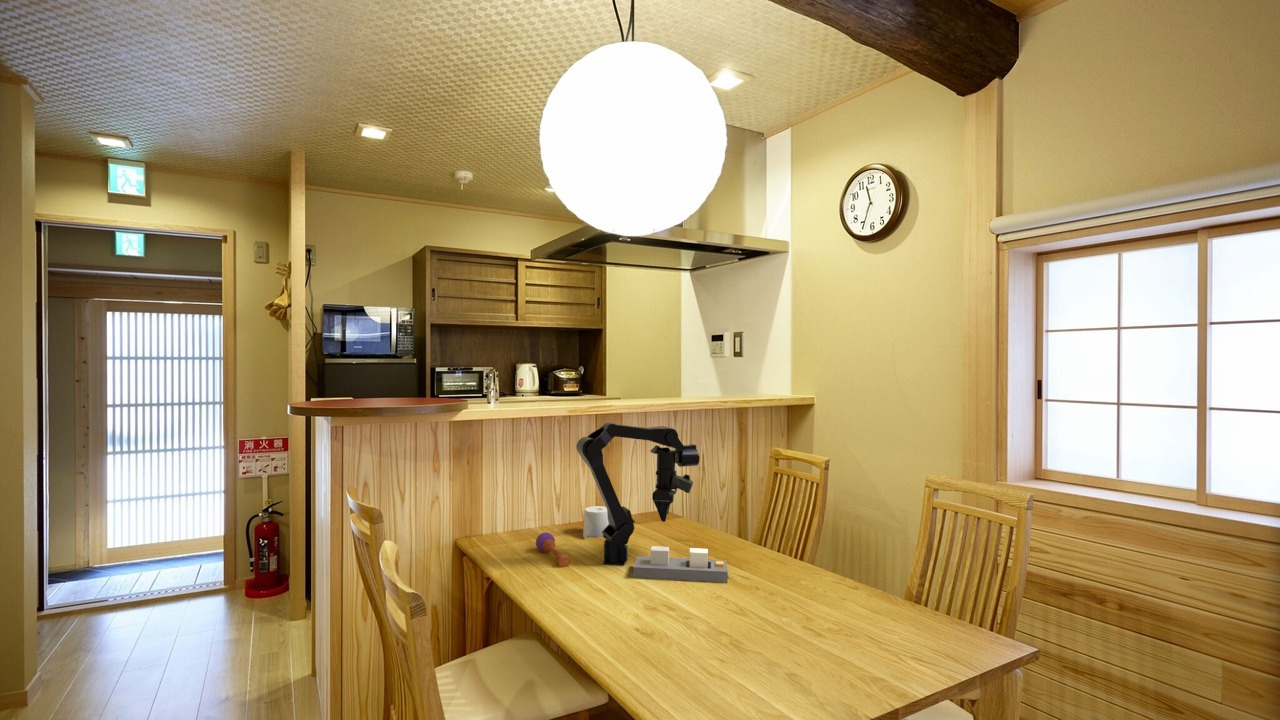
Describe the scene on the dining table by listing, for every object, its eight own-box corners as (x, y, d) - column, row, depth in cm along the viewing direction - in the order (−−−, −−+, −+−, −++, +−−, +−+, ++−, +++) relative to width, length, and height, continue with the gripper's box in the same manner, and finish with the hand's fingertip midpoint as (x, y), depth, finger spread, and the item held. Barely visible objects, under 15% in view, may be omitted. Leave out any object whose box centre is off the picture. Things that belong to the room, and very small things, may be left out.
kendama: (553, 555, 180) (532, 533, 197) (556, 574, 180) (534, 550, 198) (572, 549, 182) (549, 527, 200) (575, 568, 183) (552, 544, 201)
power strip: (633, 577, 173) (633, 552, 173) (637, 566, 183) (637, 542, 183) (727, 582, 170) (727, 557, 170) (726, 570, 180) (726, 546, 180)
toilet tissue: (581, 540, 208) (581, 514, 208) (586, 529, 222) (586, 505, 222) (608, 541, 208) (608, 515, 208) (611, 530, 221) (612, 506, 221)
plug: (689, 577, 174) (689, 552, 174) (690, 572, 178) (690, 548, 178) (707, 578, 174) (707, 553, 174) (707, 573, 178) (707, 548, 178)
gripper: (690, 473, 182) (689, 527, 182) (693, 463, 201) (692, 512, 201) (652, 472, 184) (651, 525, 184) (659, 462, 202) (658, 510, 202)
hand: (664, 517), depth 192 cm, fingers open, 9 cm apart
